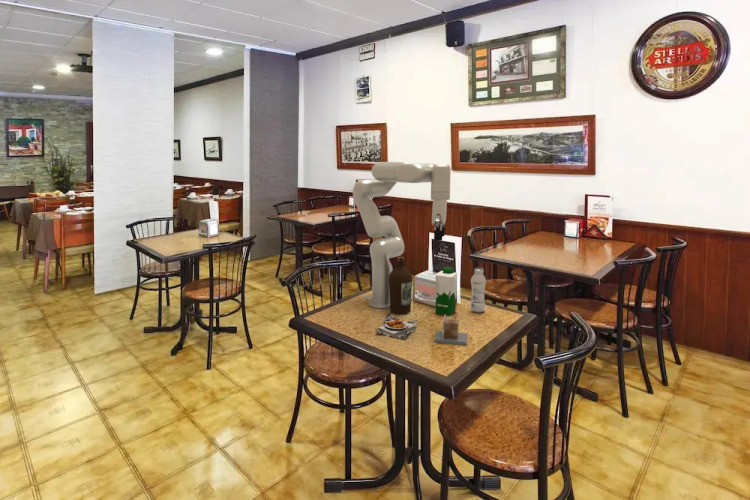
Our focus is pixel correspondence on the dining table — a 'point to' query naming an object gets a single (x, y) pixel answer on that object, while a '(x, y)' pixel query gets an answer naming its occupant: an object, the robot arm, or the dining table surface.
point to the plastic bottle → (478, 291)
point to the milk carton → (446, 291)
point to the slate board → (451, 339)
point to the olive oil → (400, 288)
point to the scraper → (449, 328)
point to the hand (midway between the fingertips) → (439, 238)
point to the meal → (396, 327)
